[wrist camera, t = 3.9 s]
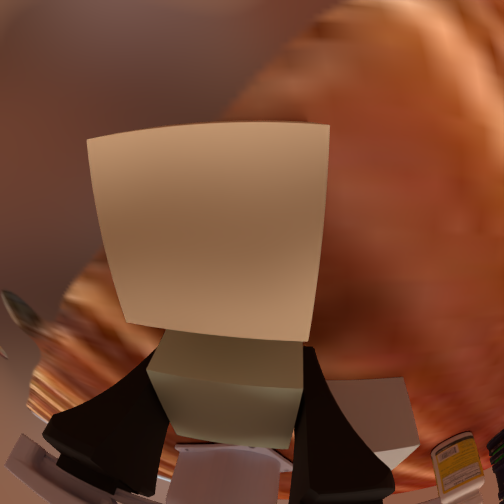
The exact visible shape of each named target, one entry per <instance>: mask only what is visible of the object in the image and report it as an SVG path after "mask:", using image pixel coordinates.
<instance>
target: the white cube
mask: <svg viewBox="0 0 504 504" xmlns="http://www.w3.org/2000/svg"><path fill="white" fill-rule="evenodd" d="M326 382H327V384H328V386H329V389H330V391H331V393H332V395H333V396H334V398H335V400H336V402H337V404H338V406H339V407H340V409H341V411H342V412H343V414H344V415H345V417H346V419H347V420H348V422H349V423H350V424H351V426H352V427H353V429H354V430H355V431H356V433H357V434H358V435H359V436H360V437H361V439H362V440H363V441H364V442H365V444H366V445H367V446H368V447H369V448H370V449H371V450H372V451H373V452H374V454H375V455H376V456H377V457H378V458H379V459H380V460H381V461H383V462H384V463H385V464H386V465H387V466H388V467H389V468H390V469H391V470H392V469H394V468H395V467H396V466H397V465H398V464H400V463H401V462H402V461H403V460H404V459H405V458H406V457H407V456H409V455H410V454H411V453H412V452H413V451H414V450H415V449H416V448H417V447H418V446H419V445H420V441H419V437H418V432H417V428H416V424H415V419H414V415H413V411H412V408H411V404H410V400H409V396H408V393H407V389H406V386H405V382H404V379H403V377H396V378H382V379H364V380H326Z"/></svg>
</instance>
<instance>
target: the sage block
mask: <svg viewBox="0 0 504 504" xmlns="http://www.w3.org/2000/svg"><path fill="white" fill-rule="evenodd" d="M146 371H147V373H148V376H149V378H150V380H151V382H152V385H153V387H154V389H155V391H156V394H157V396H158V398H159V400H160V402H161V404H162V406H163V409H164V411H165V413H166V415H167V417H168V419H169V421H170V423H171V425H172V426H173V428H174V430H175V432H176V434H177V435H180V436H185V437H189V438H194V439H200V440H205V441H211V442H218V443H224V444H232V445H240V446H249V447H260V448H275V449H288V448H289V444H290V441H291V437H292V433H293V429H294V425H295V421H296V417H297V413H298V409H299V405H300V400H301V396H302V392H303V341H281V340H265V339H251V338H239V337H228V336H218V335H209V334H200V333H192V332H185V331H177V330H170V329H166V331H165V333H164V335H163V337H162V339H161V341H160V343H159V345H158V347H157V349H156V351H155V353H154V355H153V357H152V359H151V361H150V363H149V365H148V367H147V369H146Z"/></svg>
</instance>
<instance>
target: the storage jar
mask: <svg viewBox="0 0 504 504" xmlns="http://www.w3.org/2000/svg"><path fill="white" fill-rule="evenodd" d="M487 449H488V450H489V456H492V457H491V458H490V462H491V465H493V464H494V465H493V466H492V468H493V469H492V470H493V473H495V474H496V478H497V483H498V488H499V493H498V497H499V500H501V499H503V501H501V502H500V503H499V504H504V429H503V430H502V431H501V432H500V433H498V434H497V435H496V436H495V437H494V438H493V439H492V440H491V441H490V442H489V443H488V444H487Z"/></svg>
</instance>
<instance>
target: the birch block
mask: <svg viewBox="0 0 504 504" xmlns="http://www.w3.org/2000/svg"><path fill="white" fill-rule="evenodd" d="M329 133H330V125H326V124H319V123H313V122H301V121H269V120H247V121H215V122H199V123H187V124H175V125H166V126H159V127H152V128H145V129H138V130H133V131H127V132H121V133H116V134H111V135H106V136H101V137H97V138H92V139H88V140H87V147H88V157H89V164H90V173H91V180H92V186H93V193H94V198H95V204H96V209H97V215H98V220H99V225H100V230H101V234H102V239H103V243H104V247H105V252H106V256H107V259H108V263H109V267H110V271H111V275H112V278H113V282H114V285H115V288H116V292H117V295H118V298H119V302H120V305H121V308H122V311H123V314H124V317H125V320H126V322H127V323H133V324H138V325H144V326H150V327H157V328H163V329H170V330H177V331H185V332H192V333H200V334H209V335H218V336H228V337H239V338H251V339H265V340H281V341H303V342H308V339H309V333H310V327H311V321H312V314H313V308H314V301H315V294H316V286H317V279H318V271H319V263H320V254H321V245H322V235H323V225H324V214H325V203H326V190H327V175H328V157H329Z"/></svg>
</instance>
